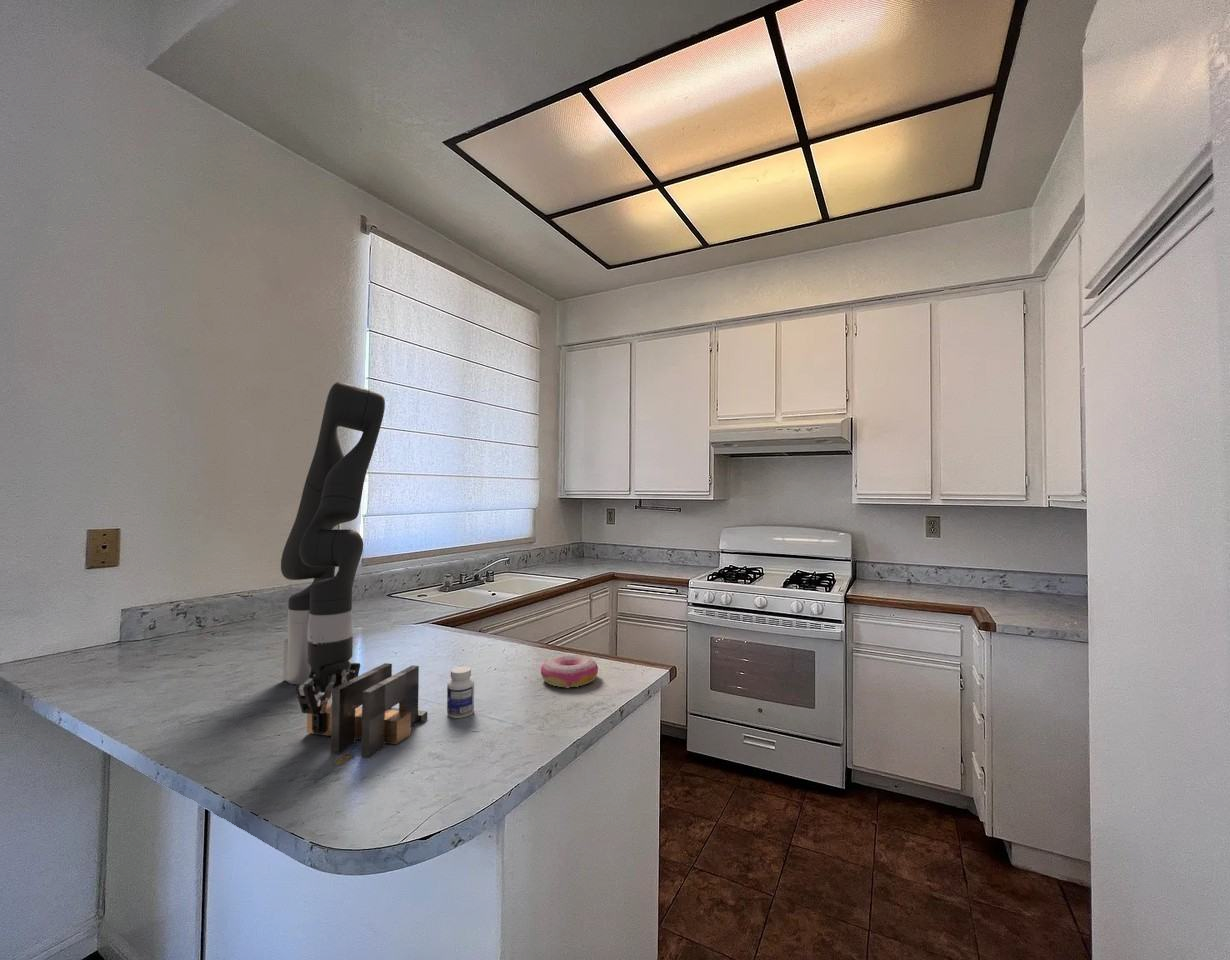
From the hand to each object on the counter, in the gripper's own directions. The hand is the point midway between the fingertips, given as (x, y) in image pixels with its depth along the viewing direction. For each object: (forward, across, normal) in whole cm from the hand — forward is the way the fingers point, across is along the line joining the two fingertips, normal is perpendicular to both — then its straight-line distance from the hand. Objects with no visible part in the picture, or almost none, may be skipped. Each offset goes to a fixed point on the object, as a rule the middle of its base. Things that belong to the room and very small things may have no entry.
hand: (328, 727), depth 98 cm
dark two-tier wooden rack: (+1, 0, +10) cm, 10 cm away
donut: (+1, -37, +35) cm, 51 cm away
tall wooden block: (+1, 0, +6) cm, 7 cm away
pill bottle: (+1, -13, +20) cm, 24 cm away
